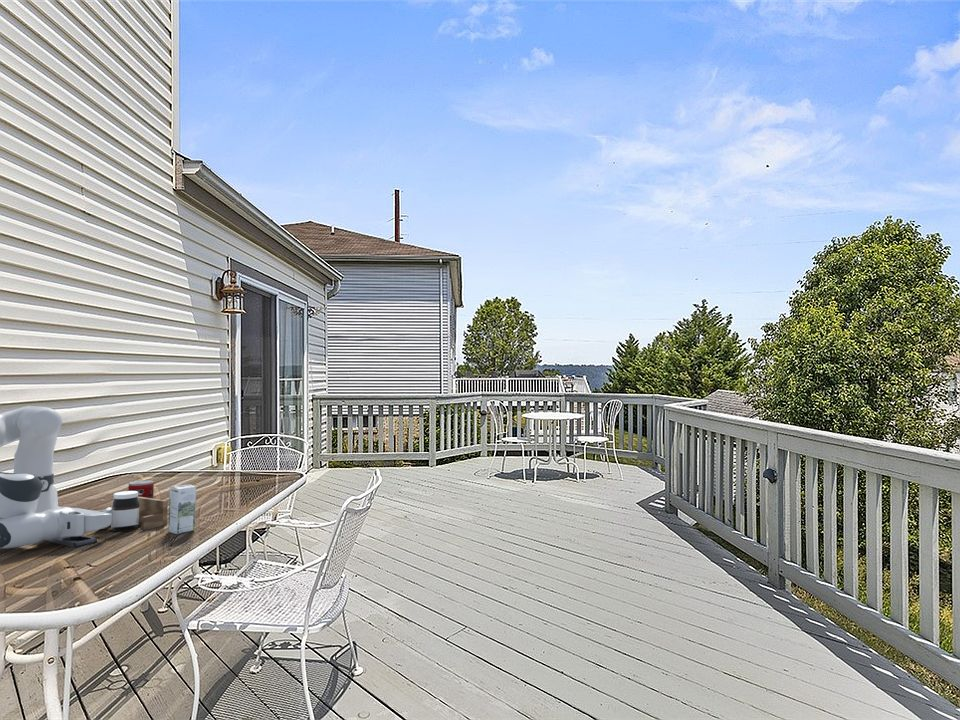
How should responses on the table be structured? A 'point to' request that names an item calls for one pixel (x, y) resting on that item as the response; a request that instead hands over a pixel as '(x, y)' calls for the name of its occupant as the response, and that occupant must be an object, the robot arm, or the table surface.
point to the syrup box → (182, 509)
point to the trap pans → (74, 541)
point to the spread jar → (125, 511)
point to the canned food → (142, 488)
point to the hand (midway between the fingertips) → (108, 512)
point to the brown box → (152, 512)
